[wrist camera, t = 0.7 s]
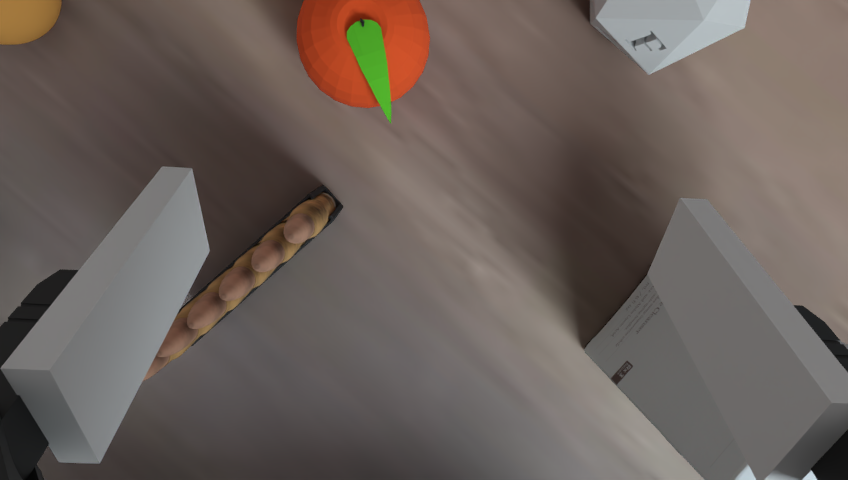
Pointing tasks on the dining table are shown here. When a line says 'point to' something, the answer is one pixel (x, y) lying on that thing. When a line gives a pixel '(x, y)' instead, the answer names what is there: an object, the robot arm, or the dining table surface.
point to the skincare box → (668, 385)
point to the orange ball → (26, 19)
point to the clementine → (363, 48)
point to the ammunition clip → (247, 274)
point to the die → (666, 27)
